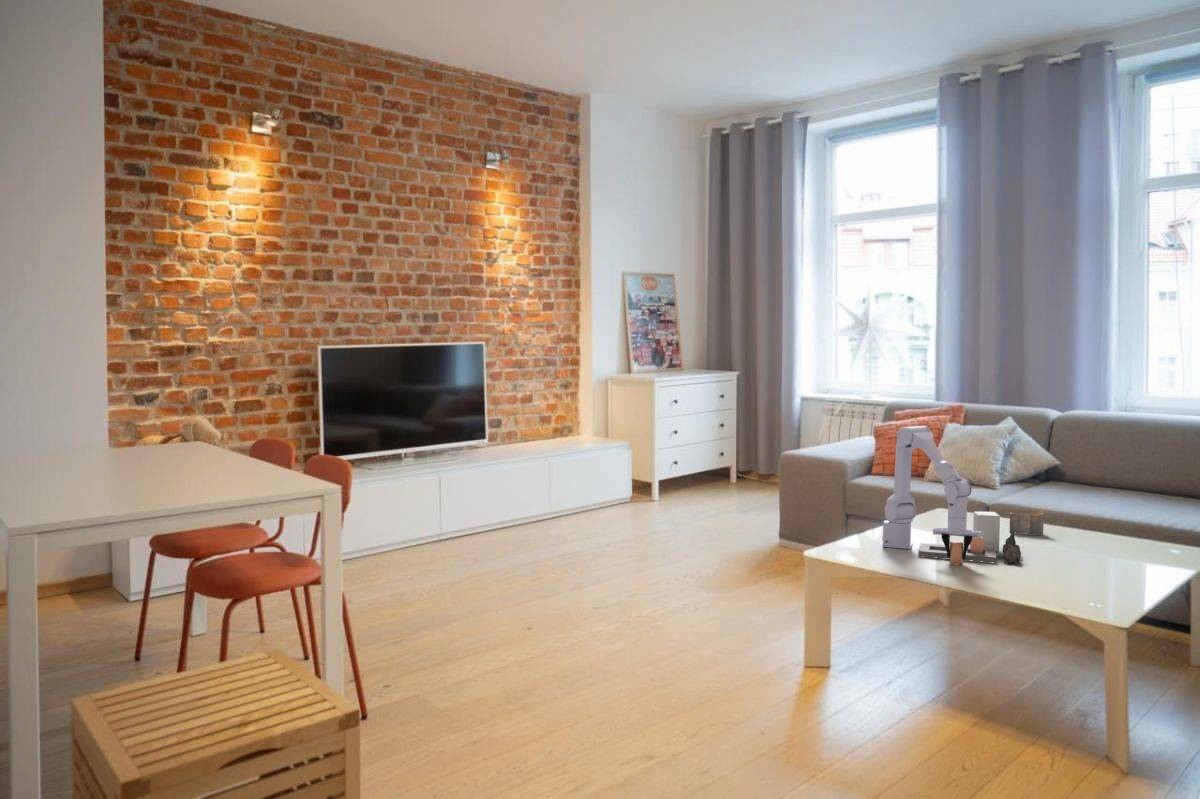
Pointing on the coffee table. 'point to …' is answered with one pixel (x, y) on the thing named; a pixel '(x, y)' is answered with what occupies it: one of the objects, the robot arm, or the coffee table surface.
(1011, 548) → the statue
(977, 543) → the pin
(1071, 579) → the coffee table surface
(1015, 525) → the ruin model on sheet
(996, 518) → the supplement box
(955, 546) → the pin
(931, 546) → the pegboard
